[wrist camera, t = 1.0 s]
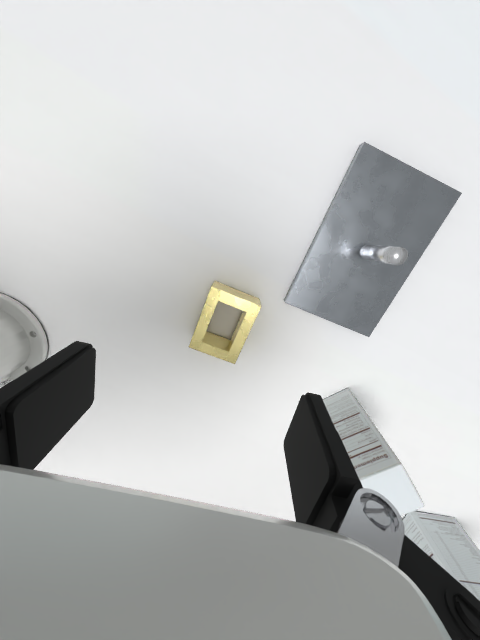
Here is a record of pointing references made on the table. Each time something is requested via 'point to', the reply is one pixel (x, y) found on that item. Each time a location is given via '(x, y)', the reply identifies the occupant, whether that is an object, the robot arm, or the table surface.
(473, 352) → the table surface
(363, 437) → the supplement box
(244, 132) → the table surface
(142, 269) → the table surface
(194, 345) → the hollow rectangular wooden block
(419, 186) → the keeper plate
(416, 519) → the supplement box
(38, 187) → the table surface
